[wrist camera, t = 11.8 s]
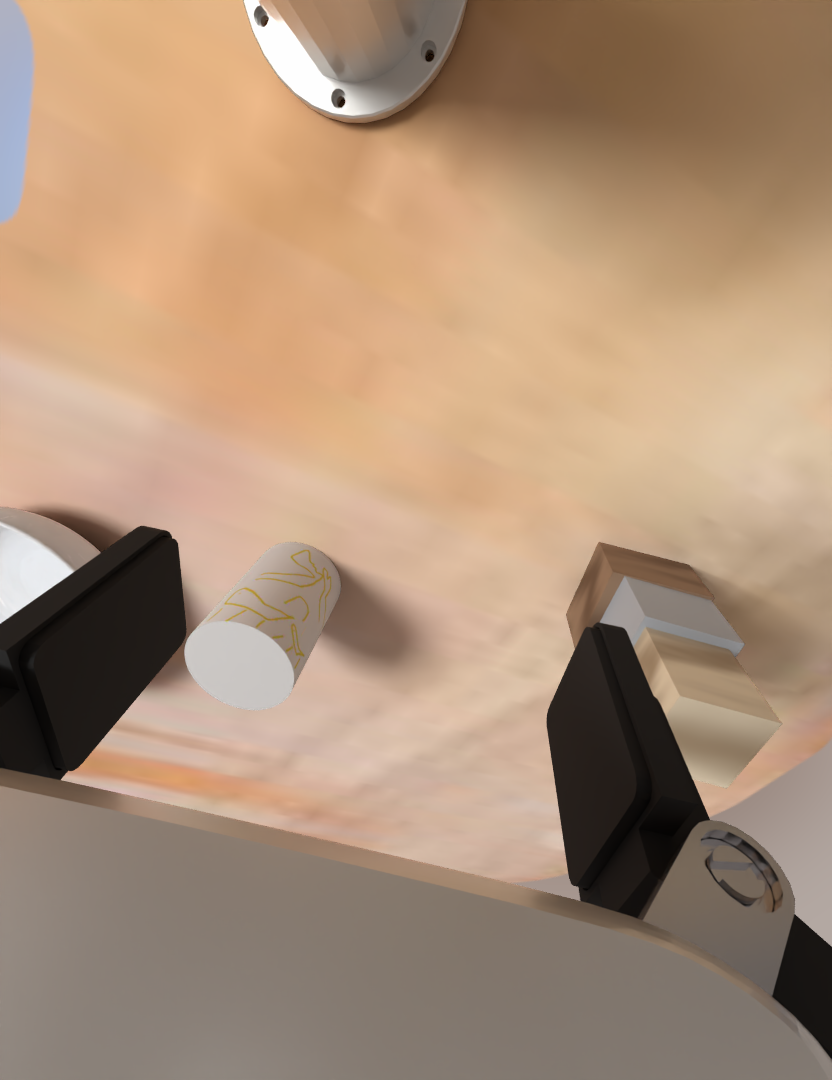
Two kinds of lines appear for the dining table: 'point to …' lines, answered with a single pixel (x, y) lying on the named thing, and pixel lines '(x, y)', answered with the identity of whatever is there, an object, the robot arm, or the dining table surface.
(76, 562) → the serving bowl
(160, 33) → the dining table surface
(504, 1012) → the robot arm
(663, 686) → the maple cube
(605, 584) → the walnut block
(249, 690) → the cup
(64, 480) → the dining table surface
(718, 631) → the grey block
